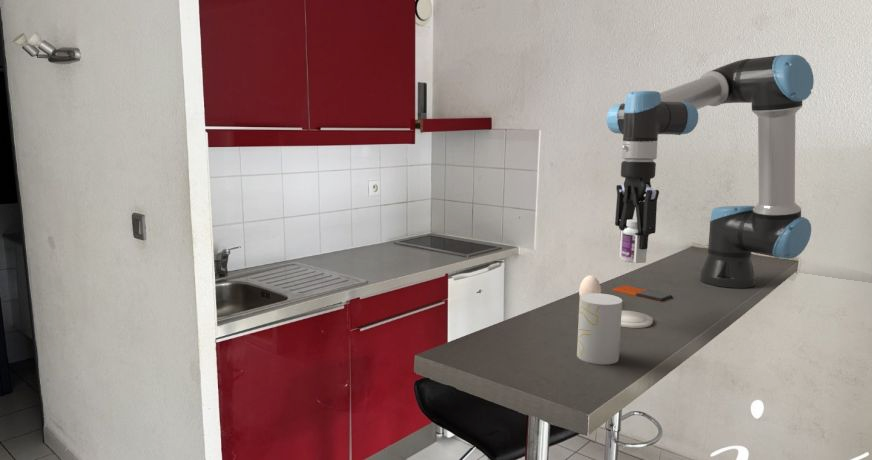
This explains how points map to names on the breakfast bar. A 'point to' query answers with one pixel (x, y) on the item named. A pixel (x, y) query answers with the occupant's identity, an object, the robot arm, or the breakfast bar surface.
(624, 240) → the pill bottle
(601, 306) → the white upright cylinder
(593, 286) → the egg
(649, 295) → the phone
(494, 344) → the breakfast bar surface
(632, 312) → the saucer
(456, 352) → the breakfast bar surface
